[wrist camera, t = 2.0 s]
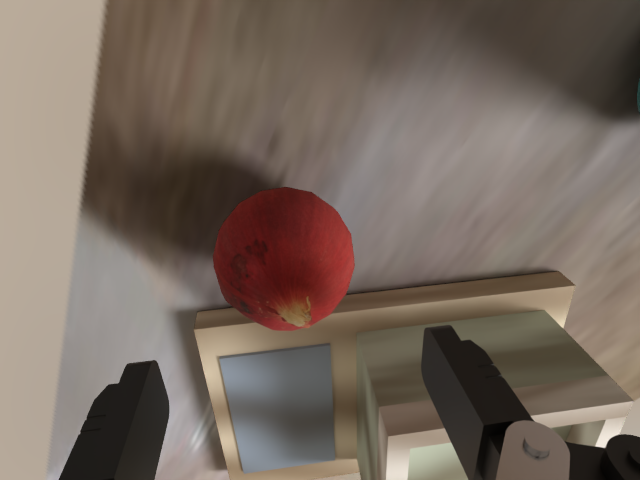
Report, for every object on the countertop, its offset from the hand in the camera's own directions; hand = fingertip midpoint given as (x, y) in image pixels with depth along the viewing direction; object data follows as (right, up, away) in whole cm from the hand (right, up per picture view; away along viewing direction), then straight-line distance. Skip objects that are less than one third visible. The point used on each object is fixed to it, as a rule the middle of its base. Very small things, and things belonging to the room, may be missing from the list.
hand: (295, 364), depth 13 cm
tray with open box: (+5, -5, +14) cm, 16 cm away
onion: (-1, +5, +8) cm, 10 cm away
